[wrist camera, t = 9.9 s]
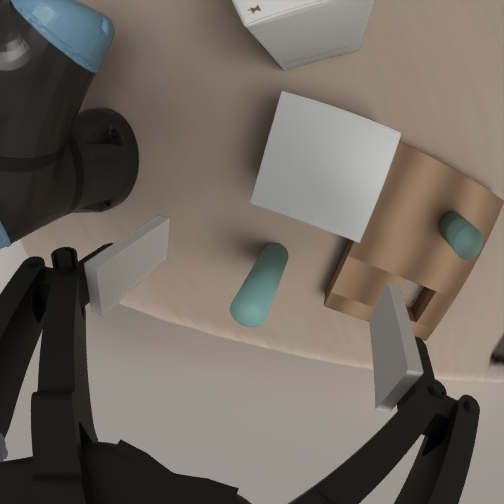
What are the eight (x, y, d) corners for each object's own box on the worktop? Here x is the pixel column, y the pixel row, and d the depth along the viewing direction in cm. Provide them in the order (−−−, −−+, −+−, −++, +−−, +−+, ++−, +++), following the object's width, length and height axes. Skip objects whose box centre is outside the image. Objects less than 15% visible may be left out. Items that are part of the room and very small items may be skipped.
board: (325, 292, 36) (320, 333, 29) (388, 137, 26) (406, 141, 19) (421, 327, 34) (433, 368, 27) (492, 194, 24) (527, 214, 17)
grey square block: (269, 185, 32) (250, 203, 25) (294, 100, 27) (281, 91, 20) (353, 215, 31) (359, 242, 24) (384, 132, 26) (401, 133, 19)
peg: (259, 261, 36) (226, 318, 26) (266, 239, 35) (234, 291, 24) (283, 270, 36) (259, 331, 25) (291, 248, 34) (270, 305, 24)
